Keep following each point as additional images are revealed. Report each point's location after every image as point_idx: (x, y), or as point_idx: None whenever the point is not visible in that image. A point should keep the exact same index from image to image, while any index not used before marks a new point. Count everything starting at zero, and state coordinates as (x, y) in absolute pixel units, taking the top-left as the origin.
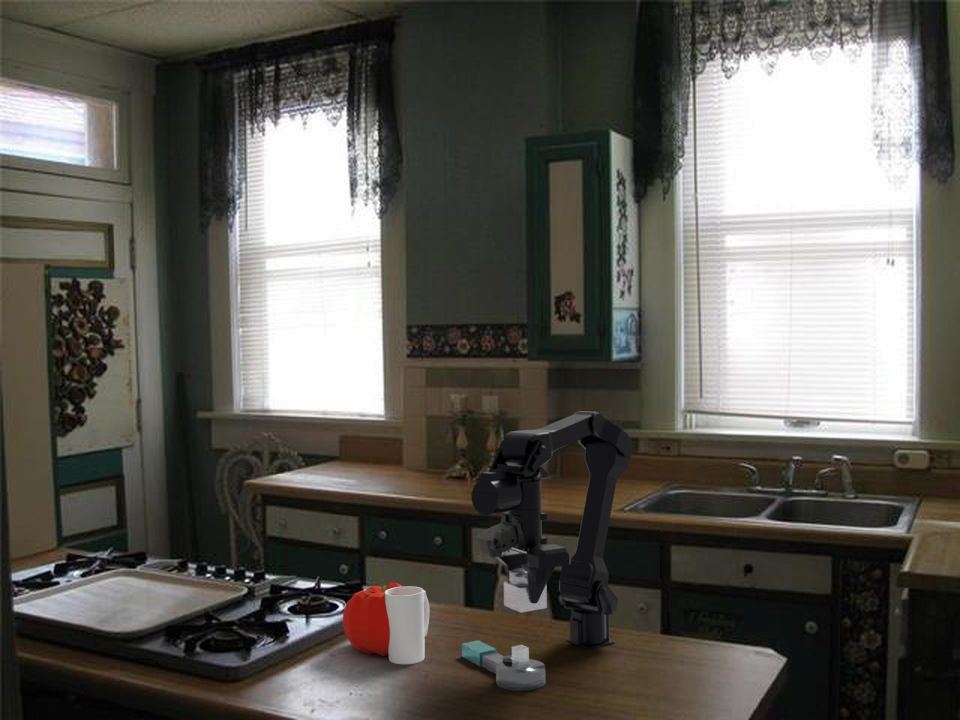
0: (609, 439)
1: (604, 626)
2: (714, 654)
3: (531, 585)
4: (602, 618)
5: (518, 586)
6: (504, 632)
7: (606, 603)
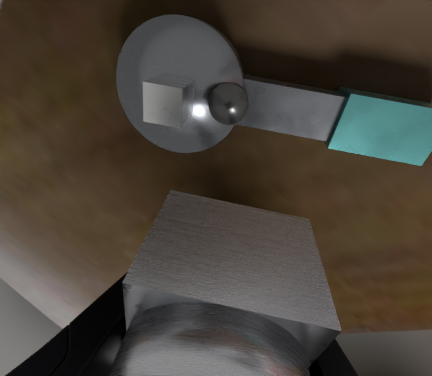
0: None
1: None
2: None
3: (73, 326)
4: None
5: (172, 304)
6: (422, 267)
7: None
